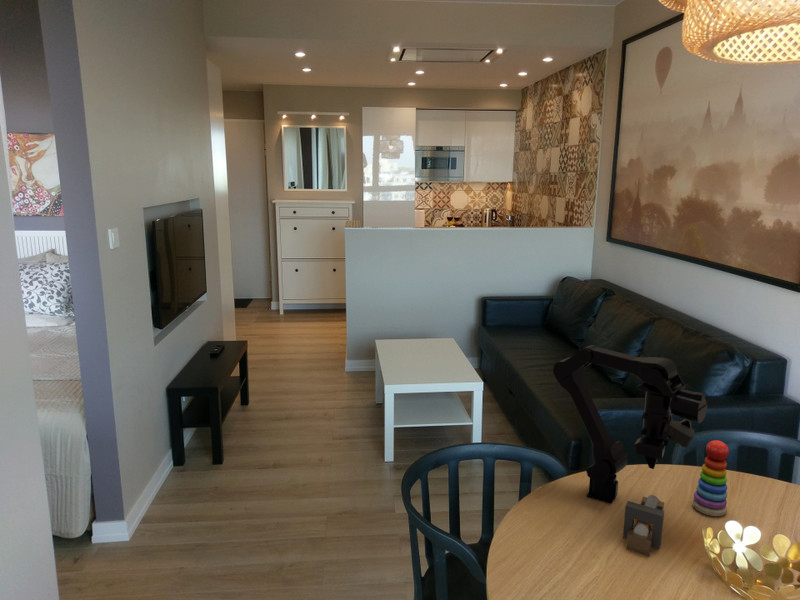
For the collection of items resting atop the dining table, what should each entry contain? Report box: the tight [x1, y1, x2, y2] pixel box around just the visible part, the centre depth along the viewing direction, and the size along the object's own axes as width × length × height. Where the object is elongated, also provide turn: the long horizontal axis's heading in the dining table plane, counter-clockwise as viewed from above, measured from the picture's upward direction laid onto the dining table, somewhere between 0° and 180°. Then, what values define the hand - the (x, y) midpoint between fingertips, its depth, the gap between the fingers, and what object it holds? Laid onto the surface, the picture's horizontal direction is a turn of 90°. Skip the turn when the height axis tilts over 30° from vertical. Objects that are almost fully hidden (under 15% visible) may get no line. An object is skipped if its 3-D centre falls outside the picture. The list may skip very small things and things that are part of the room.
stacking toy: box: [691, 439, 730, 517], centre depth 145 cm, size 8×8×19 cm
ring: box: [622, 500, 665, 550], centre depth 132 cm, size 2×8×8 cm, turn 57°
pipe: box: [625, 494, 665, 557], centre depth 137 cm, size 18×5×6 cm, turn 147°
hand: (651, 468), depth 142 cm, fingers closed
